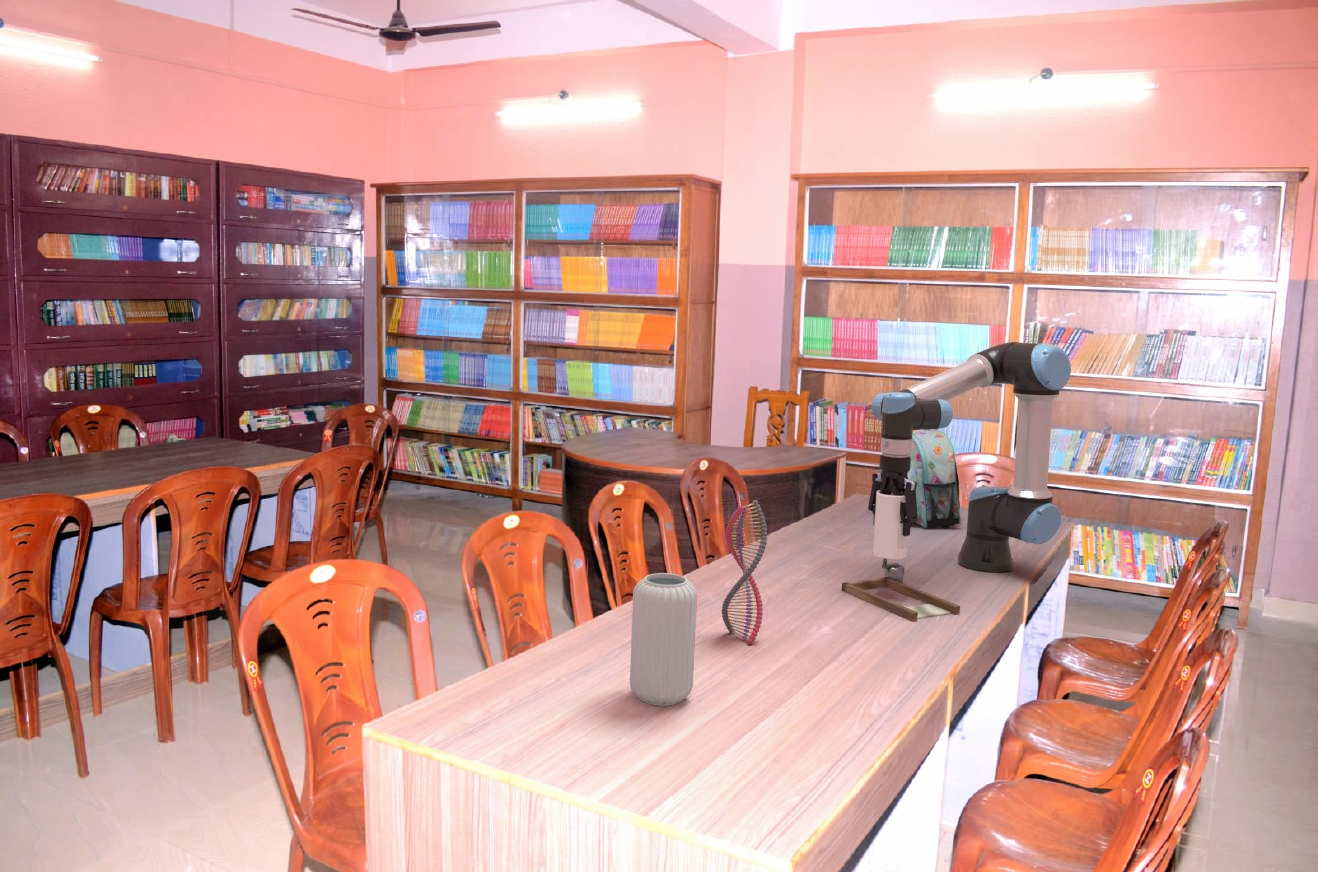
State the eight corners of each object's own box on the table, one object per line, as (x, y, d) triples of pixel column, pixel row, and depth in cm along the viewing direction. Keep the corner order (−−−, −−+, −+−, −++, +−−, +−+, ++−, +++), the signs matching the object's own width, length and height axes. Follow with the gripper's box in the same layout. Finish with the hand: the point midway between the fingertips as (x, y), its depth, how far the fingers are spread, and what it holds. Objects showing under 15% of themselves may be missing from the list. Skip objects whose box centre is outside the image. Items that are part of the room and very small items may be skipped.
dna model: (734, 648, 203) (741, 508, 199) (712, 634, 211) (719, 499, 207) (769, 642, 207) (777, 505, 203) (747, 629, 215) (754, 497, 211)
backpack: (868, 512, 348) (874, 423, 343) (933, 513, 350) (941, 425, 346) (895, 530, 320) (903, 434, 315) (966, 531, 323) (975, 436, 318)
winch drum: (894, 581, 259) (896, 551, 257) (907, 586, 254) (909, 556, 253) (875, 583, 255) (877, 553, 254) (888, 589, 251) (890, 558, 250)
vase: (700, 707, 172) (706, 586, 169) (638, 712, 169) (643, 589, 166) (681, 682, 183) (686, 569, 180) (622, 687, 180) (626, 571, 177)
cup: (907, 560, 239) (911, 496, 237) (873, 557, 240) (876, 494, 238) (905, 551, 247) (909, 490, 244) (872, 549, 248) (876, 488, 246)
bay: (886, 584, 255) (886, 577, 255) (959, 613, 233) (960, 605, 232) (841, 590, 248) (842, 582, 248) (912, 621, 226) (913, 613, 225)
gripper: (856, 449, 247) (851, 535, 251) (913, 462, 229) (908, 555, 232) (878, 447, 251) (874, 532, 254) (937, 460, 233) (931, 552, 236)
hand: (890, 543), depth 243 cm, fingers closed on cup, 8 cm apart
